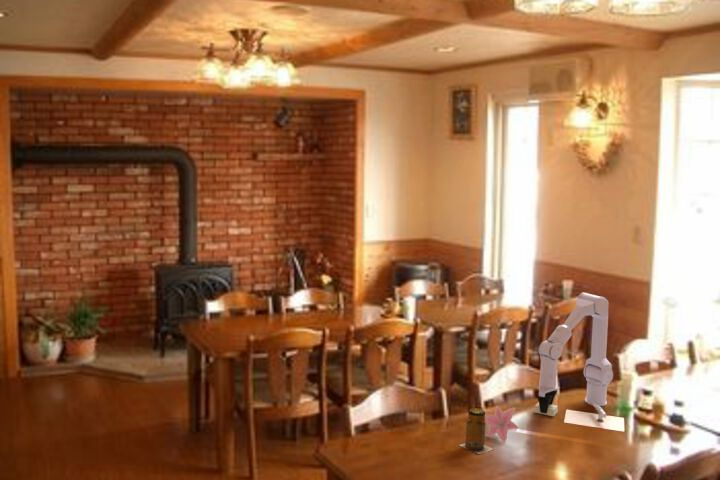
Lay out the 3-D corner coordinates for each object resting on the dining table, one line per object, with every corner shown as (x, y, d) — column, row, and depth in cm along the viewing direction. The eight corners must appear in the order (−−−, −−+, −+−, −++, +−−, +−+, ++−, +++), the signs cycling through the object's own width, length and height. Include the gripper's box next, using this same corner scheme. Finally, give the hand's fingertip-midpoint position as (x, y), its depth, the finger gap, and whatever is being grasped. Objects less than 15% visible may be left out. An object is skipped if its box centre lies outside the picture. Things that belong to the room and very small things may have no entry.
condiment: (474, 440, 240) (476, 405, 238) (494, 449, 233) (496, 413, 232) (458, 445, 235) (460, 409, 234) (478, 455, 229) (481, 418, 227)
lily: (477, 432, 250) (475, 412, 245) (505, 416, 254) (503, 396, 248) (499, 455, 241) (496, 435, 236) (527, 438, 244) (526, 418, 239)
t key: (601, 424, 256) (602, 413, 255) (592, 412, 268) (592, 401, 267) (605, 424, 256) (606, 413, 255) (596, 412, 268) (597, 402, 267)
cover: (538, 408, 270) (538, 401, 269) (557, 412, 266) (557, 405, 266) (534, 412, 265) (534, 405, 265) (553, 416, 262) (554, 409, 262)
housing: (566, 412, 270) (566, 409, 270) (623, 420, 264) (623, 417, 264) (563, 425, 257) (564, 422, 257) (624, 434, 251) (624, 431, 251)
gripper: (554, 381, 256) (551, 418, 257) (564, 371, 268) (561, 407, 270) (534, 377, 259) (531, 414, 261) (545, 367, 272) (542, 403, 273)
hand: (545, 410), depth 266 cm, fingers closed on cover, 5 cm apart
